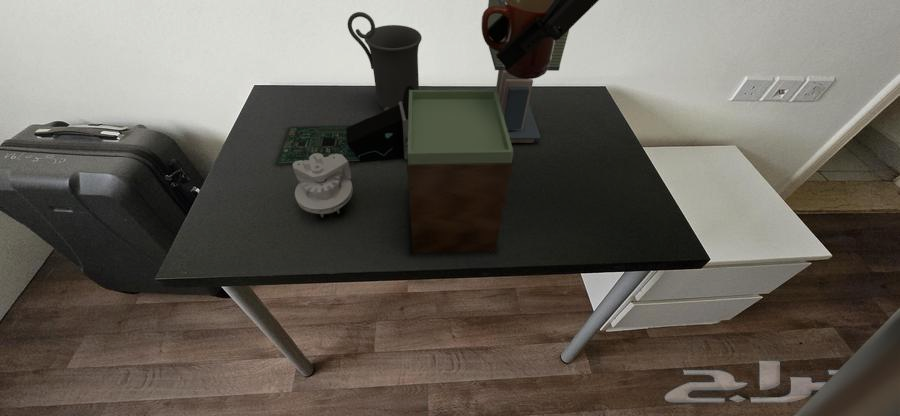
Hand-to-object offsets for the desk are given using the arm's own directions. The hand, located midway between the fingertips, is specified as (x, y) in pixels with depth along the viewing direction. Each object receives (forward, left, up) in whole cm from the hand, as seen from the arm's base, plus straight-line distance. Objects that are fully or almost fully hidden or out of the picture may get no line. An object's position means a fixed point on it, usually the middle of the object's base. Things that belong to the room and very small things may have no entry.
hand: (496, 49), depth 56 cm
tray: (-2, +8, -10) cm, 13 cm away
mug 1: (+40, +1, -33) cm, 52 cm away
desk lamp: (+18, -21, -33) cm, 43 cm away
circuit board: (+33, +23, -32) cm, 52 cm away
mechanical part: (+13, +29, -33) cm, 45 cm away
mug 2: (-1, -3, -4) cm, 5 cm away
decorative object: (+23, +11, -32) cm, 41 cm away
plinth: (-2, +8, -32) cm, 34 cm away
